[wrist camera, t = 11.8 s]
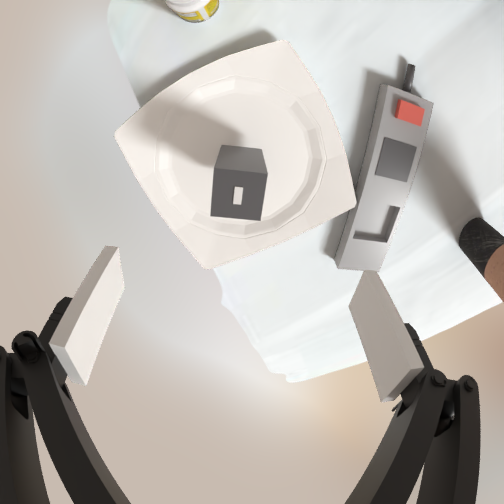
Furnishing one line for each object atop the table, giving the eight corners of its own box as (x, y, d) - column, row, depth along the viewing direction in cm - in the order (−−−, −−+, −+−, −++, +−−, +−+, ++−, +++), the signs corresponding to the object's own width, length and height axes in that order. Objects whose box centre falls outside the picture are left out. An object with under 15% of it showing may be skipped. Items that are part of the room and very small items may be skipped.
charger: (221, 144, 31) (213, 168, 23) (261, 148, 31) (268, 174, 24) (218, 181, 33) (210, 216, 26) (256, 185, 34) (260, 221, 26)
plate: (205, 268, 43) (203, 279, 41) (110, 127, 31) (101, 131, 29) (360, 201, 38) (367, 209, 36) (287, 30, 25) (291, 26, 23)
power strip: (385, 55, 26) (396, 54, 23) (429, 74, 27) (442, 75, 24) (334, 259, 42) (339, 272, 40) (373, 263, 43) (380, 275, 41)
